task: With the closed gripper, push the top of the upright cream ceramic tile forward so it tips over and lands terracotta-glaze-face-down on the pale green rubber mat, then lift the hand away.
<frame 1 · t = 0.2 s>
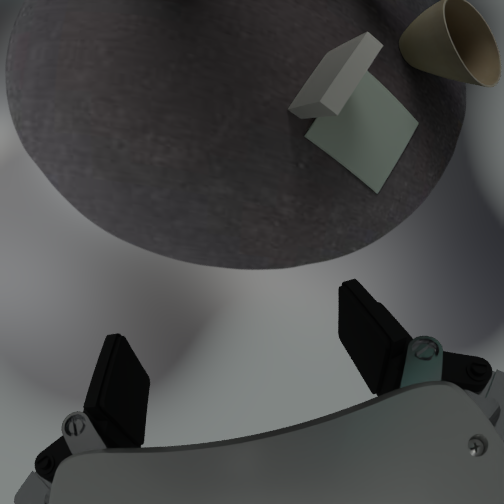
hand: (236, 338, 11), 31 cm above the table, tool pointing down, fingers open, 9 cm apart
mat: (367, 127, 38), on the table
tile: (314, 84, 34), on the table
plant pot: (412, 51, 33), on the table
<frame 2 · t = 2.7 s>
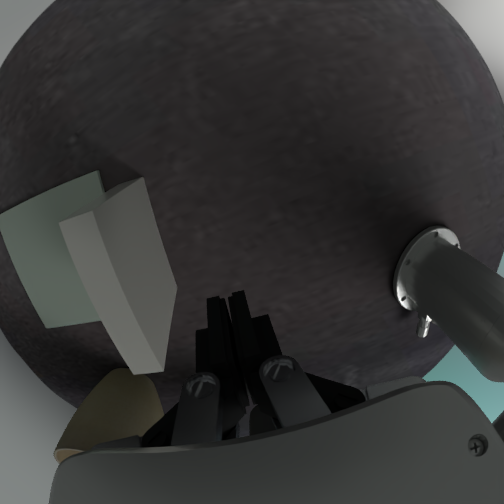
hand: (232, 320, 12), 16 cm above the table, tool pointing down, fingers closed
mat: (63, 261, 26), on the table
tile: (148, 238, 26), on the table
sundae: (259, 385, 37), on the table
plant pot: (131, 382, 34), on the table
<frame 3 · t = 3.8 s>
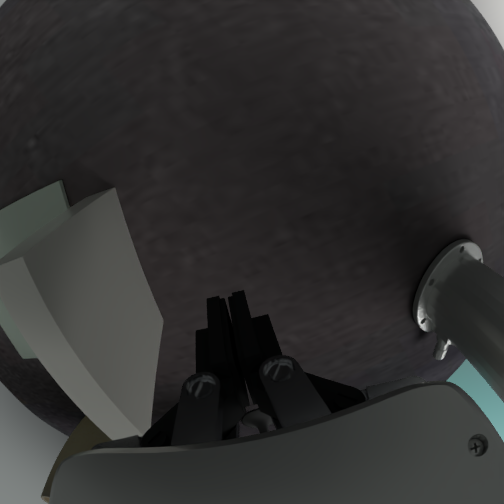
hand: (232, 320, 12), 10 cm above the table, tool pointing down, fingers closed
mat: (31, 288, 20), on the table
tile: (125, 263, 20), on the table
sundae: (261, 416, 32), on the table
plant pot: (119, 414, 28), on the table
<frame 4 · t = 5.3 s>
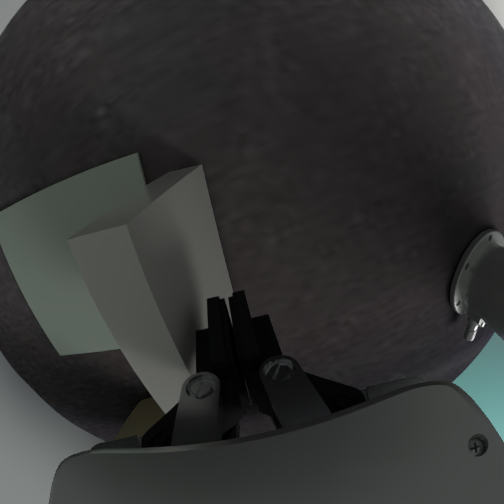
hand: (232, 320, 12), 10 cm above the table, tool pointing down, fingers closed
mat: (83, 275, 20), on the table
tile: (204, 245, 21), on the table, tilted 10°
plant pot: (165, 410, 29), on the table
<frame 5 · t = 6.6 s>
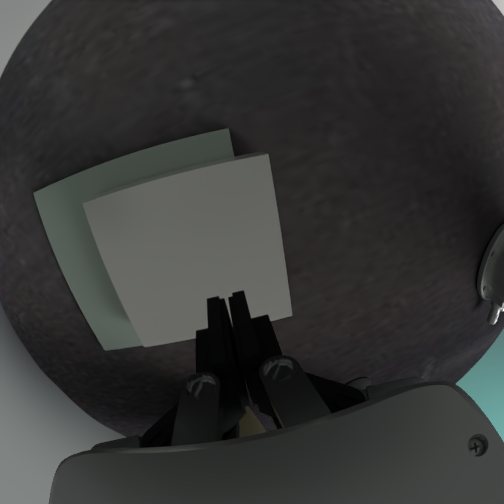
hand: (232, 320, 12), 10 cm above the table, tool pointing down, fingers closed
mat: (148, 258, 21), on the table
tile: (278, 238, 19), point 2 cm above the table, tilted 90°, touching mat
plant pot: (214, 404, 29), on the table
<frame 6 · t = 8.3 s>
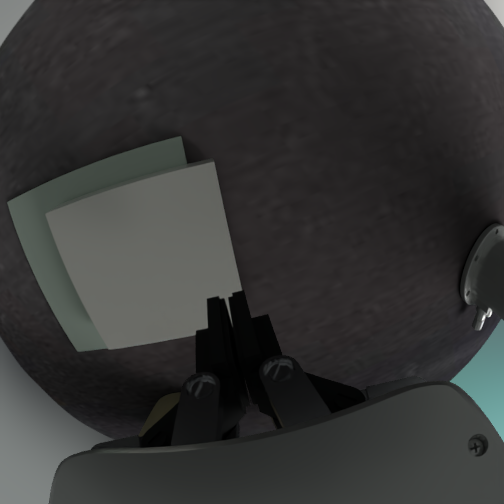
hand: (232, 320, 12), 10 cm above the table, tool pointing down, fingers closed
mat: (111, 264, 20), on the table
tile: (231, 245, 19), point 2 cm above the table, tilted 90°, touching mat
plant pot: (186, 406, 29), on the table
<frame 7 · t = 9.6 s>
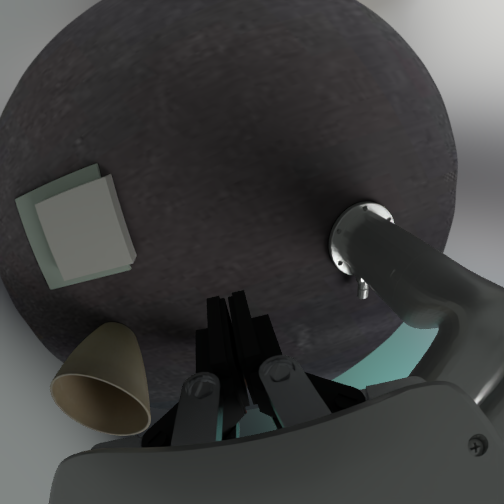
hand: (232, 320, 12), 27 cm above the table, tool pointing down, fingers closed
mat: (68, 232, 34), on the table
tile: (120, 218, 33), point 2 cm above the table, tilted 90°, touching mat
plant pot: (117, 336, 43), on the table
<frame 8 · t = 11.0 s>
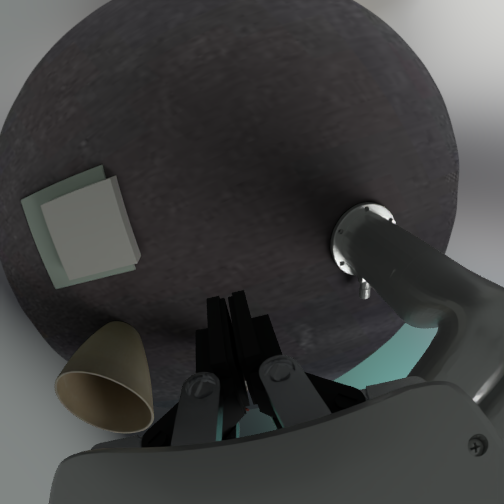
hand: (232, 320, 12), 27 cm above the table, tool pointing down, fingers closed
mat: (73, 232, 35), on the table
tile: (125, 219, 34), point 2 cm above the table, tilted 90°, touching mat
plant pot: (121, 335, 44), on the table
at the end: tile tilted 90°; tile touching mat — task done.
